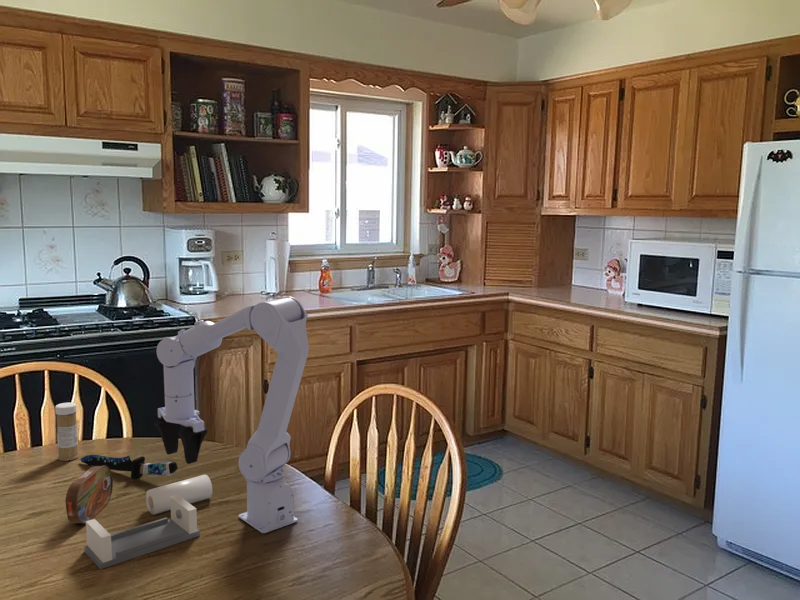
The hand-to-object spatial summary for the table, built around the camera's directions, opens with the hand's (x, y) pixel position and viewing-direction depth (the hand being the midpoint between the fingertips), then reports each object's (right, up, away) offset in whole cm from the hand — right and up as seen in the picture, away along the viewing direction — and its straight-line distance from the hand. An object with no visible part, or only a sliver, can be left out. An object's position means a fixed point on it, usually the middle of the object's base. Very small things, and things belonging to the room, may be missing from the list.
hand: (181, 457), depth 140 cm
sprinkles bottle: (-35, -6, +24) cm, 43 cm away
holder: (-2, -12, -17) cm, 20 cm away
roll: (0, -7, -1) cm, 7 cm away
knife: (-17, -8, +15) cm, 24 cm away
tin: (-17, -10, -5) cm, 20 cm away
